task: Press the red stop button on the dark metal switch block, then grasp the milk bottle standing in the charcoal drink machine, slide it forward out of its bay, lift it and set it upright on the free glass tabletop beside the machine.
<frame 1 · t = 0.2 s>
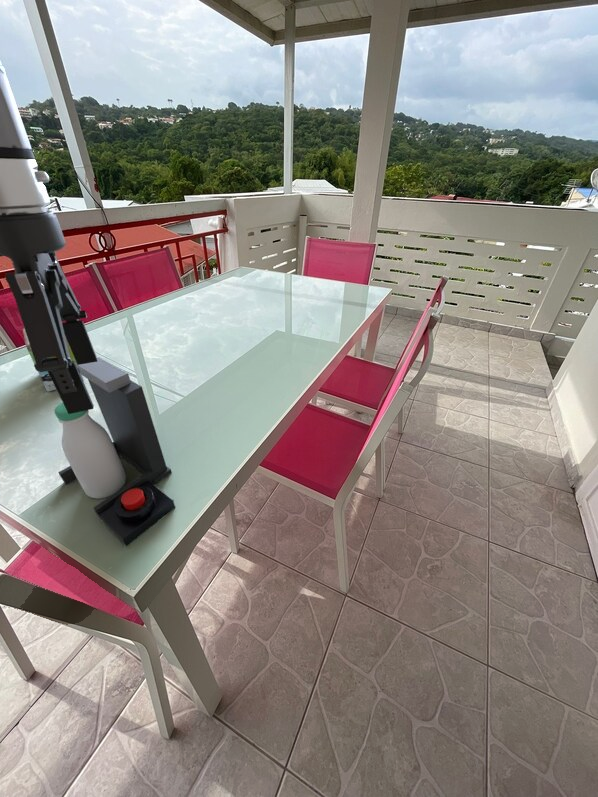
hand: (85, 383, 46), 28 cm above the table, tool pointing down, fingers open, 13 cm apart
switch block: (139, 514, 62), on the table
milk bottle: (106, 485, 68), on the table
drink machine: (106, 484, 68), on the table
stop button: (133, 499, 59), point 4 cm above the table, slide at 0.1 cm
tea box: (64, 377, 102), on the table
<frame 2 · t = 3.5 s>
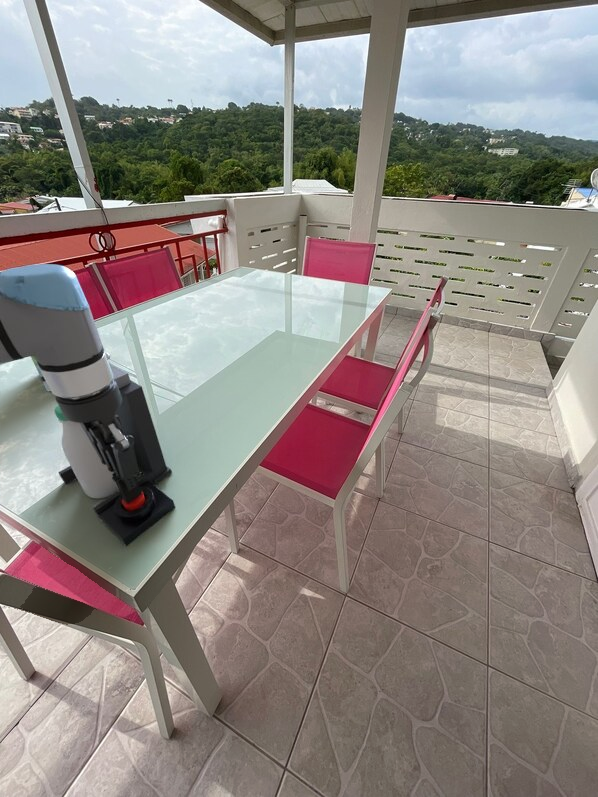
hand: (132, 496, 59), 5 cm above the table, tool pointing down, fingers closed
stop button: (134, 500, 59), point 4 cm above the table, slide at -0.4 cm, touching gripper
everything else where it was.
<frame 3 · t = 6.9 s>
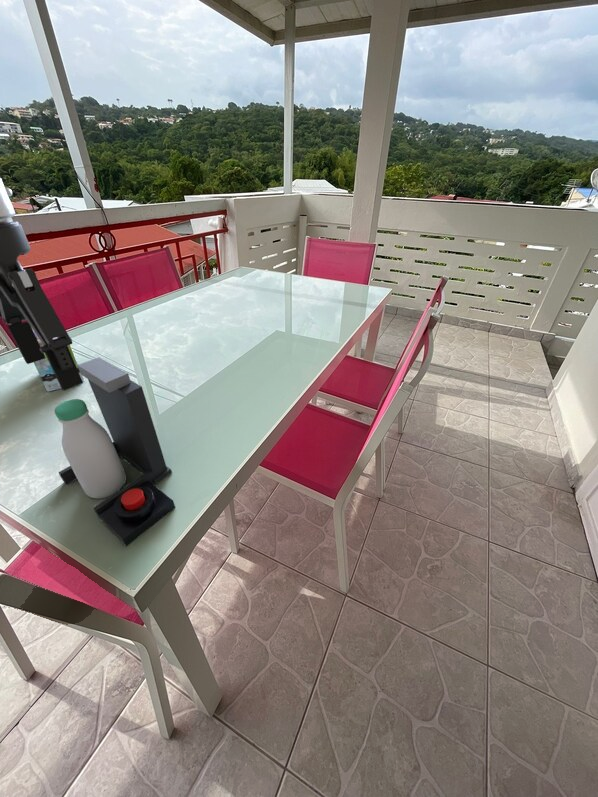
hand: (53, 372, 52), 27 cm above the table, tool pointing down, fingers open, 12 cm apart
stop button: (133, 499, 59), point 4 cm above the table, slide at 0.1 cm
everything else where it was.
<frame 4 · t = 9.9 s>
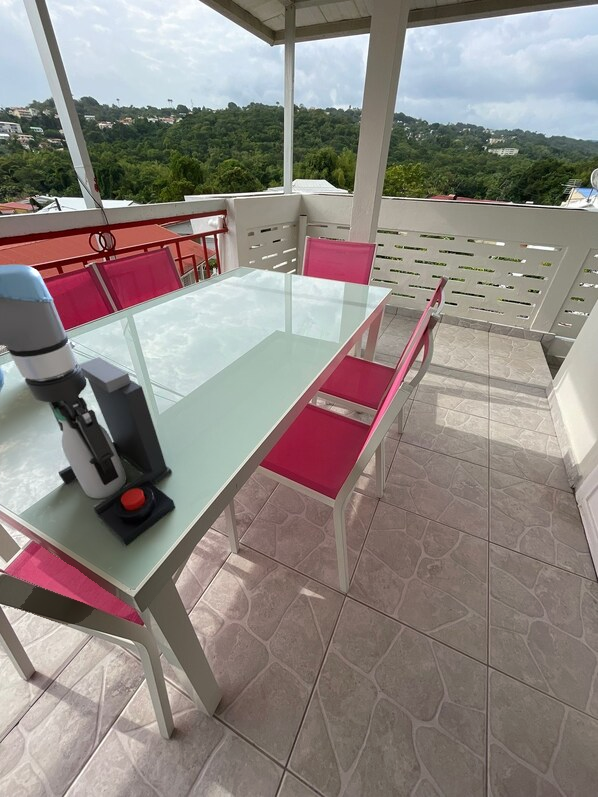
hand: (99, 470, 65), 4 cm above the table, tool pointing down, fingers closed on milk bottle, 8 cm apart
milk bottle: (106, 485, 68), on the table, touching gripper
everything else where it was.
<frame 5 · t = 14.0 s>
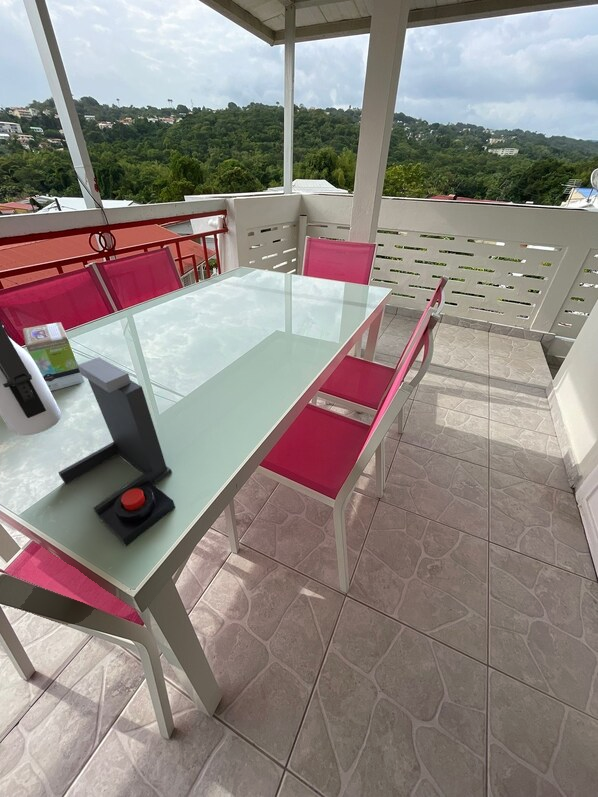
hand: (26, 404, 57), 19 cm above the table, tool pointing down, fingers closed on milk bottle, 8 cm apart
milk bottle: (38, 423, 60), point 15 cm above the table, touching gripper
everything else where it was.
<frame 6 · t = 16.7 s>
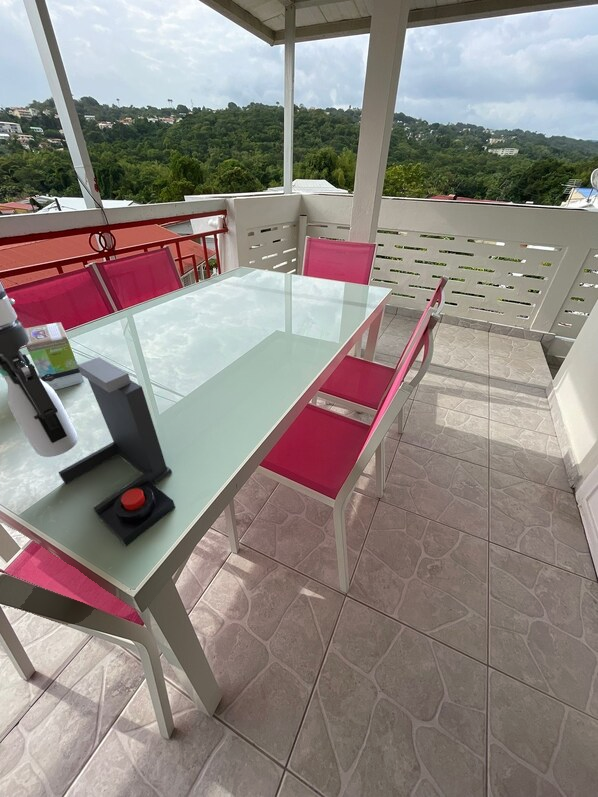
hand: (49, 430, 67), 9 cm above the table, tool pointing down, fingers closed on milk bottle, 8 cm apart
milk bottle: (58, 445, 70), point 5 cm above the table, touching gripper
everything else where it was.
when the fingers open (4 cm above the table, at t = 18.4 s): milk bottle stays where it is, on the table.
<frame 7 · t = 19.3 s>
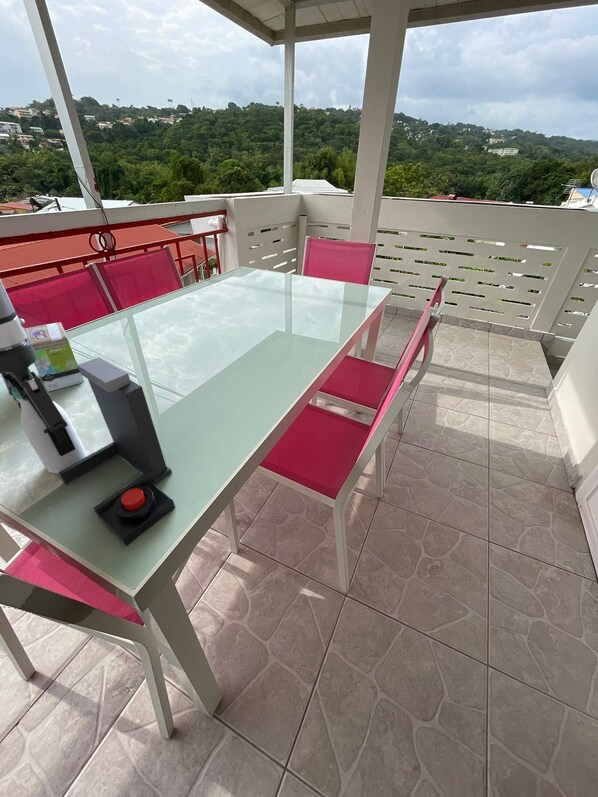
hand: (52, 438, 68), 7 cm above the table, tool pointing down, fingers open, 13 cm apart
milk bottle: (67, 462, 73), on the table
everything else where it was.
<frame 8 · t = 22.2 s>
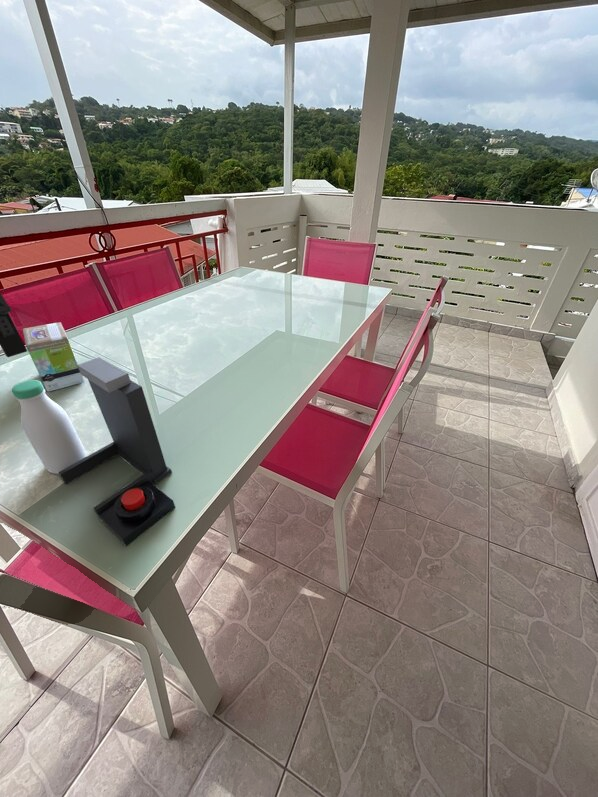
hand: (1, 342, 56), 29 cm above the table, tool pointing down, fingers open, 13 cm apart
nothing on the table moved.
at the end: stop button pushed in 1.0 cm at the most during the clip, back to where it started at the end; milk bottle inside the target area (0.1 cm from its centre), on the table; milk bottle tilted 0° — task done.
